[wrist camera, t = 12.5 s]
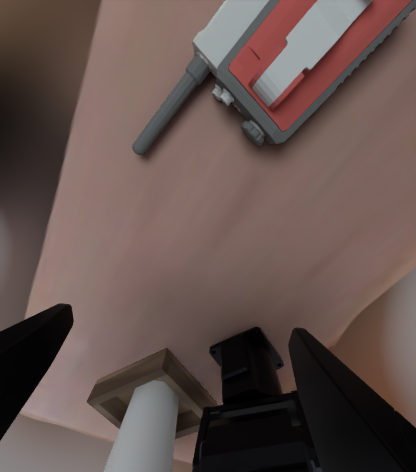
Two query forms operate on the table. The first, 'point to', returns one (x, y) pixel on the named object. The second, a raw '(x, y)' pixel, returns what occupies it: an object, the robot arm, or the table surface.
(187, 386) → the frame
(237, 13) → the walkie-talkie
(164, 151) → the table surface
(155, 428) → the white cup
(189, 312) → the table surface
